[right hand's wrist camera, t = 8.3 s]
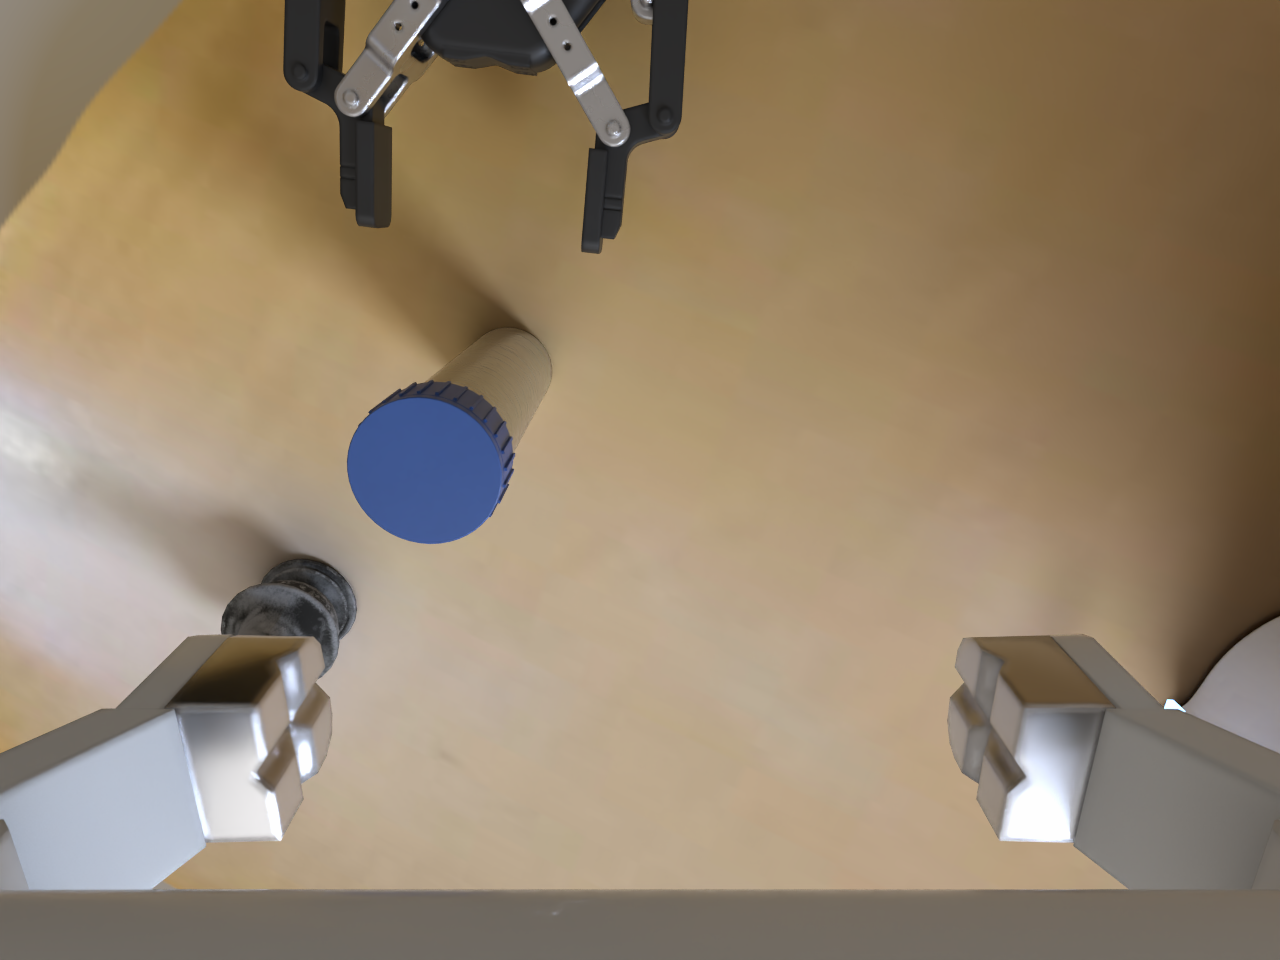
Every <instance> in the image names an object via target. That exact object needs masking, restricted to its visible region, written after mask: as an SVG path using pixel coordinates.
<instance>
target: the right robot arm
mask: <svg viewBox="0 0 1280 960" xmlns="http://www.w3.org/2000/svg"><path fill="white" fill-rule="evenodd" d="M324 668H325V664H324V659H323V654H322V649H321V644H320V643H319V642H318V641H317V640H316V639H315V638H314V637H308V636H256V635H236V636H234V635H231V634H229V635H196V636H191V637H187V638H186V639H185V640H184V641H183V642H182V643H181V644H180V645H179V646H178V647H177V648H176V649H175V650H174V651H173V652H172V653H171V654H170V655H169V656H168V657H167V658H166V659H165V660H164V661H163V662H162V663H161V664H160V665H159V666H158V667H157V668H156V669H155V670H154V671H153V672H152V673H151V674H150V675H149V676H148V677H147V678H146V679H145V680H144V681H143V682H142V683H141V684H140V685H139V686H138V687H137V688H136V689H135V690H134V691H133V692H132V693H131V694H130V695H129V696H128V697H127V698H126V699H125V700H124V701H123V702H122V703H121V704H120V705H119V706H118V707H117V708H116V709H100V710H98V711H96V712H94V713H91V714H89V715H87V716H84V717H82V718H80V719H78V720H75V721H73V722H71V723H69V724H66V725H64V726H62V727H59V728H57V729H55V730H53V731H50V732H48V733H46V734H43V735H41V736H39V737H37V738H34V739H32V740H30V741H28V742H25V743H23V744H21V745H18V746H16V747H14V748H12V749H9V750H7V751H5V752H2V753H0V960H1280V616H1279V617H1277V618H1275V619H1273V620H1271V621H1269V622H1267V623H1266V624H1264V625H1262V626H1261V627H1259V628H1257V629H1256V630H1254V631H1253V632H1251V633H1250V634H1249V635H1247V636H1246V637H1244V638H1243V639H1242V640H1241V641H1239V642H1238V643H1237V644H1236V645H1235V646H1234V647H1232V648H1231V649H1230V650H1229V651H1228V652H1227V653H1226V654H1225V655H1224V656H1223V657H1222V658H1221V659H1220V660H1219V662H1218V663H1217V664H1216V665H1215V666H1214V668H1213V669H1212V670H1211V671H1210V673H1209V674H1208V676H1207V677H1206V679H1205V680H1204V681H1203V683H1202V684H1201V686H1200V687H1199V689H1198V690H1197V692H1196V693H1195V694H1194V695H1193V697H1192V698H1191V699H1190V700H1189V701H1188V702H1187V703H1186V704H1185V705H1184V706H1182V707H1180V706H1179V705H1178V704H1177V703H1176V702H1175V701H1174V700H1168V699H1167V702H1166V705H1165V707H1162V706H1161V705H1160V704H1159V703H1158V702H1157V701H1156V700H1155V699H1154V698H1153V697H1152V696H1151V695H1150V694H1149V693H1148V692H1147V691H1146V690H1145V689H1144V688H1143V687H1142V686H1141V685H1140V684H1139V683H1138V682H1137V681H1136V680H1135V679H1134V678H1133V677H1132V676H1131V675H1130V674H1129V673H1128V672H1127V671H1126V670H1125V669H1124V668H1123V667H1122V666H1121V665H1120V664H1119V663H1118V662H1117V661H1116V660H1115V659H1114V658H1113V657H1112V656H1111V655H1110V654H1109V653H1108V652H1107V651H1106V650H1105V649H1104V648H1103V647H1102V646H1101V645H1100V644H1099V643H1098V642H1097V641H1096V640H1095V639H1094V638H1092V637H1089V636H1086V635H1084V634H1075V635H1049V636H1009V637H971V638H963V640H962V642H961V644H960V646H959V648H958V652H957V658H956V663H955V668H956V670H957V671H958V673H959V674H960V676H961V678H962V679H963V681H964V684H963V685H962V686H961V687H960V688H959V689H958V690H957V691H956V692H955V693H954V694H953V695H952V696H951V697H950V703H949V711H948V720H947V721H948V731H949V742H950V745H951V749H952V752H953V755H954V758H955V760H956V762H957V764H958V766H959V768H960V770H961V772H962V773H963V774H965V775H966V776H968V777H969V778H971V779H972V780H974V781H975V782H977V783H978V784H979V786H978V792H977V798H976V799H977V801H978V803H979V805H980V806H981V808H982V810H983V812H984V814H985V815H986V817H987V819H988V821H989V823H990V824H991V826H992V828H993V830H994V831H995V833H996V835H997V837H998V839H999V840H1000V841H1034V842H1070V843H1074V847H1076V848H1077V849H1078V850H1079V851H1081V852H1082V853H1083V854H1085V855H1086V856H1087V857H1088V858H1090V859H1091V860H1092V861H1094V862H1095V863H1096V864H1097V865H1099V866H1100V867H1101V868H1102V869H1104V870H1105V871H1106V872H1108V873H1109V874H1110V875H1111V876H1113V877H1114V878H1115V879H1117V880H1118V881H1119V882H1120V883H1122V884H1123V885H1124V886H1126V887H1127V888H1128V889H969V890H968V889H967V890H375V889H152V888H153V887H155V886H156V885H157V884H159V883H160V882H161V881H162V880H164V879H165V878H166V877H168V876H169V875H170V874H171V873H173V872H174V871H175V870H177V869H178V868H179V867H180V866H182V865H183V864H184V863H185V862H187V861H188V860H189V859H191V858H192V857H193V856H194V855H196V854H197V853H198V852H200V851H201V850H202V849H203V848H205V847H206V843H210V842H245V841H280V840H281V839H282V837H283V835H284V833H285V832H286V830H287V828H288V826H289V824H290V823H291V821H292V819H293V817H294V815H295V814H296V812H297V810H298V808H299V806H300V805H301V803H302V801H303V799H304V798H303V792H302V786H301V784H302V783H303V782H305V781H306V780H308V779H309V778H311V777H312V776H314V775H315V774H317V773H318V772H319V770H320V768H321V766H322V764H323V762H324V760H325V758H326V756H327V752H328V748H329V743H330V739H331V735H332V709H331V702H330V697H329V696H328V695H327V694H326V693H325V692H324V691H323V690H322V689H321V688H320V687H319V686H318V685H317V684H316V683H315V682H316V681H317V679H318V678H319V676H320V674H321V673H322V671H323V670H324Z"/></svg>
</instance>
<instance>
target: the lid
mask: <svg viewBox="0 0 1280 960" xmlns="http://www.w3.org/2000/svg"><path fill="white" fill-rule="evenodd" d="M483 397H484V396H483V395H478V394H477V393H475V392H473V391H471V390H469V389H468V387H467V386H465V387H462V386H459V385H456V384H451V381H447V382H434V381H433V380H429V381H428V382H425V383H420V384H417V383H416V382H415V383H412V384H411V385H410V386H409V387H407V388H406V389H403V390H401V389H398V390H397V391H395V392H394V393H393V394H391V395H390V396H389V397H387V398H386V399H385V400H383V401H382V402H381V403H380V404H378V405H377V406H376V407H374V408H373V409H371V410H370V411H369V412H368V413H369V415H368V416H367V417H366V418H365V419H364V420H363V421H362V422H361V423H360V424H359V425H358V428H357V430H356V432H355V433H354V435H353V438H352V440H351V443H350V446H349V450H348V458H347V471H348V477H349V482H350V485H351V488H352V491H353V493H354V495H355V498H356V500H357V501H358V503H359V504H360V506H361V508H362V509H363V510H364V511H365V513H366V514H367V515H368V516H369V517H370V518H371V519H372V520H373V521H374V522H375V523H376V524H378V525H379V526H380V527H381V528H383V529H384V530H386V531H388V532H389V533H391V534H393V535H395V536H397V537H399V538H402V539H405V540H408V541H412V542H417V543H425V544H438V543H445V542H450V541H454V540H457V539H460V538H462V537H464V536H466V535H468V534H470V533H471V532H473V531H475V530H476V529H477V528H478V527H480V526H481V525H482V524H483V523H484V522H485V521H486V520H487V518H488V517H491V516H492V514H493V512H494V510H495V508H496V506H497V504H498V503H499V504H500V502H501V500H502V498H503V496H504V494H505V492H506V490H507V488H508V486H509V484H508V482H509V480H510V478H511V476H512V474H513V472H514V469H512V465H513V459H514V457H515V453H513V447H512V440H513V438H512V436H511V437H510V434H509V432H508V429H507V427H506V424H507V423H506V421H503V419H502V418H501V416H500V415H499V413H498V412H497V411H496V409H497V408H496V407H495V406H494V407H493V406H492V405H491V404H490V403H489V402H487V401H486V400H485V399H484V398H483Z"/></svg>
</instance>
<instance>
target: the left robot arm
mask: <svg viewBox="0 0 1280 960" xmlns="http://www.w3.org/2000/svg"><path fill="white" fill-rule="evenodd" d="M605 1H606V0H394V1H393V2H392V4H391V5H390V6H389V8H388V9H387V10H386V12H385V13H384V15H383V16H382V17H381V19H380V20H379V21H378V23H377V24H376V25H375V27H374V28H373V29H372V31H371V32H370V34H369V35H368V37H367V40H366V46H365V49H364V51H363V52H362V53H361V55H360V56H359V57H358V59H357V60H356V61H355V63H354V64H353V65H352V67H351V68H350V70H349V71H348V72H347V74H344V73H342V65H343V43H344V21H345V0H285V22H284V64H283V71H284V76H285V79H286V81H287V82H288V84H289V85H290V86H291V87H292V88H294V89H296V90H298V91H302V92H304V93H306V94H308V95H310V96H312V97H314V98H315V99H317V100H319V101H321V102H323V103H325V104H327V105H328V106H330V107H331V108H332V109H333V110H334V112H335V113H336V115H337V117H338V120H339V125H340V165H341V167H340V176H341V179H340V194H341V197H342V199H343V202H344V204H345V207H346V208H348V209H355V211H356V221H357V224H358V225H359V226H364V227H373V228H385V227H389V225H390V222H391V196H392V128H391V127H388V126H385V125H384V118H385V117H386V116H387V114H388V113H389V112H390V111H391V109H392V108H393V107H394V105H395V104H396V103H397V101H398V100H399V99H400V98H401V96H402V95H403V94H404V92H405V91H406V90H407V88H408V87H409V86H410V85H411V84H412V83H413V82H415V81H417V80H418V79H419V78H420V77H421V76H422V75H423V74H424V73H425V72H426V70H427V69H428V68H429V66H430V65H431V64H432V62H433V61H434V60H435V59H436V57H437V56H438V55H439V56H440V57H441V58H443V59H445V60H446V61H448V62H450V63H451V64H453V65H454V66H456V67H465V68H473V69H477V68H482V67H488V66H494V65H497V66H500V67H502V68H505V69H507V70H509V71H512V72H514V73H517V74H524V75H533V76H537V73H538V72H542V71H545V70H547V69H549V68H550V67H552V66H553V65H555V64H556V63H557V65H558V67H559V68H560V70H561V72H562V74H563V75H564V77H565V79H566V81H567V82H568V84H569V86H570V87H571V89H572V91H573V93H574V94H575V96H576V98H577V99H578V101H579V103H580V105H581V106H582V108H583V110H584V112H585V113H586V115H587V117H588V119H589V120H590V122H591V124H592V126H593V127H594V129H595V131H596V141H595V149H593V148H589V157H588V169H587V182H586V194H585V207H584V219H583V231H582V245H581V251H582V252H587V253H596V254H600V253H601V251H602V243H603V238H607V239H614V238H615V237H616V235H617V233H618V231H619V229H620V227H621V224H622V213H623V203H624V192H625V182H626V171H627V162H628V158H629V155H630V153H631V152H632V150H633V149H634V148H636V147H637V146H639V145H641V144H644V143H647V142H651V141H655V140H659V139H667V138H670V137H672V136H673V135H674V134H675V133H676V132H677V130H678V127H679V125H680V122H681V117H682V101H683V83H684V66H685V48H686V31H687V14H688V0H630V1H631V7H632V12H633V15H634V17H635V18H636V19H637V20H638V21H639V22H641V23H643V24H648V25H652V43H651V65H650V87H649V103H645V104H642V105H638V106H634V107H631V108H627V109H623V110H622V108H621V106H620V104H619V103H618V101H617V99H616V97H615V96H614V94H613V92H612V90H611V88H610V87H609V85H608V83H607V81H606V79H605V78H604V76H603V74H602V72H601V70H600V68H599V66H598V64H597V63H596V61H595V59H594V57H593V55H592V54H591V52H590V50H589V48H588V46H587V45H586V43H585V41H584V39H583V37H582V36H581V34H580V33H581V31H582V30H583V29H584V28H585V26H586V25H587V24H588V22H589V21H590V20H591V19H592V17H593V16H594V15H595V13H596V12H597V11H598V10H599V8H600V7H601V6H602V4H603V3H604V2H605ZM400 26H402V29H401V30H400V31H399V27H400ZM422 42H424V45H423V46H421V43H422Z"/></svg>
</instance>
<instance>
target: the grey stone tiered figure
mask: <svg viewBox="0 0 1280 960" xmlns="http://www.w3.org/2000/svg"><path fill="white" fill-rule="evenodd" d="M356 611H357V607H356V600H355V596H354V594H353V591H352V589H351V587H350V586H349V584H348V583H347V582H346V580H345V579H344V578H343V577H342V576H341V575H340V574H339V573H338V572H336V571H335V570H334V569H333V568H331V567H329V566H326V565H324V564H322V563H320V562H316V561H312V560H291V561H287V562H283V563H281V564H279V565H278V566H276V567H274V568H273V569H272V570H271V571H270V572H269V573H268V574H267V575H266V576H265V577H264V579H263V581H262V583H261V584H259V585H255V586H251V587H249V588H247V589H245V590H244V591H242V592H240V593H238V594H237V595H236V596H235V597H234V598H233V599H232V600H231V602H230V603H229V604H228V605H227V607H226V609H225V612H224V614H223V616H222V623H221V633H222V635H229V634H231V635H234V636H236V635H256V636H308V637H314V638H315V639H316V640H317V641H318V642H319V643H320V644H321V649H322V654H323V659H324V664H325V668H324V670H323V671H322V673H321V674H320V676H319V678H321V677H322V676H323V675H324V674H325V673H326V672H327V671H328V670H329V669H330V668H331V667H332V665H333V663H334V661H335V659H336V657H337V654H338V648H339V640H340V639H342V638H343V637H344V636H345V635H346V634H347V633H348V632H349V631H350V629H351V627H352V625H353V623H354V621H355V617H356ZM319 678H318V679H319Z"/></svg>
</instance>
